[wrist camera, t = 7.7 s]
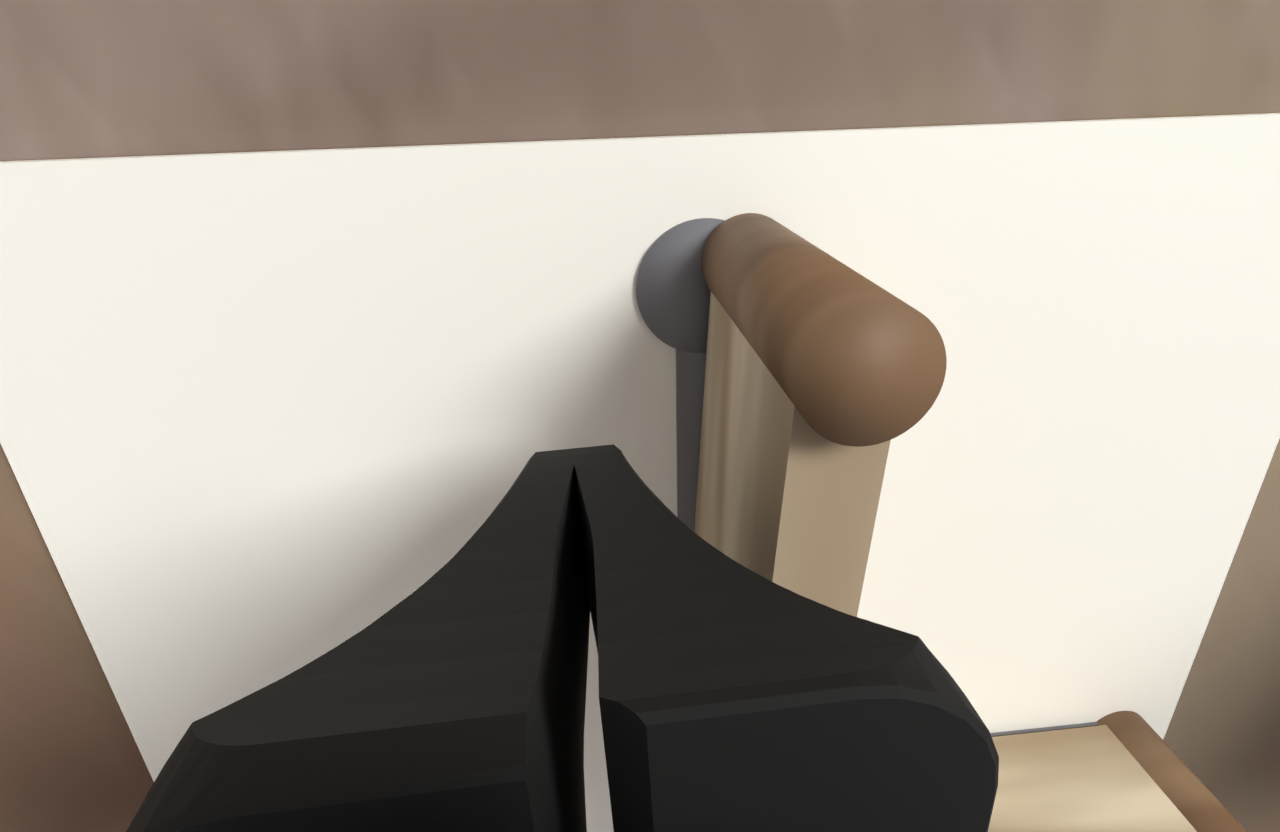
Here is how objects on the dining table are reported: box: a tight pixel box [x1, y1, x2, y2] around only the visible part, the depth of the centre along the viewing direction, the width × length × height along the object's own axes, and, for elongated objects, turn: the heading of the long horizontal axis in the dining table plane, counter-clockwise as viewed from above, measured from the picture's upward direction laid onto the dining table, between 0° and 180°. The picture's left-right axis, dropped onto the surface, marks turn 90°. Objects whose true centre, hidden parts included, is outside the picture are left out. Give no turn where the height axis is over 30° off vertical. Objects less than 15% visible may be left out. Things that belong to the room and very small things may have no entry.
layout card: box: [0, 113, 1280, 832], centre depth 16 cm, size 18×25×1 cm
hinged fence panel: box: [694, 213, 947, 617], centre depth 12 cm, size 2×12×6 cm, turn 178°
